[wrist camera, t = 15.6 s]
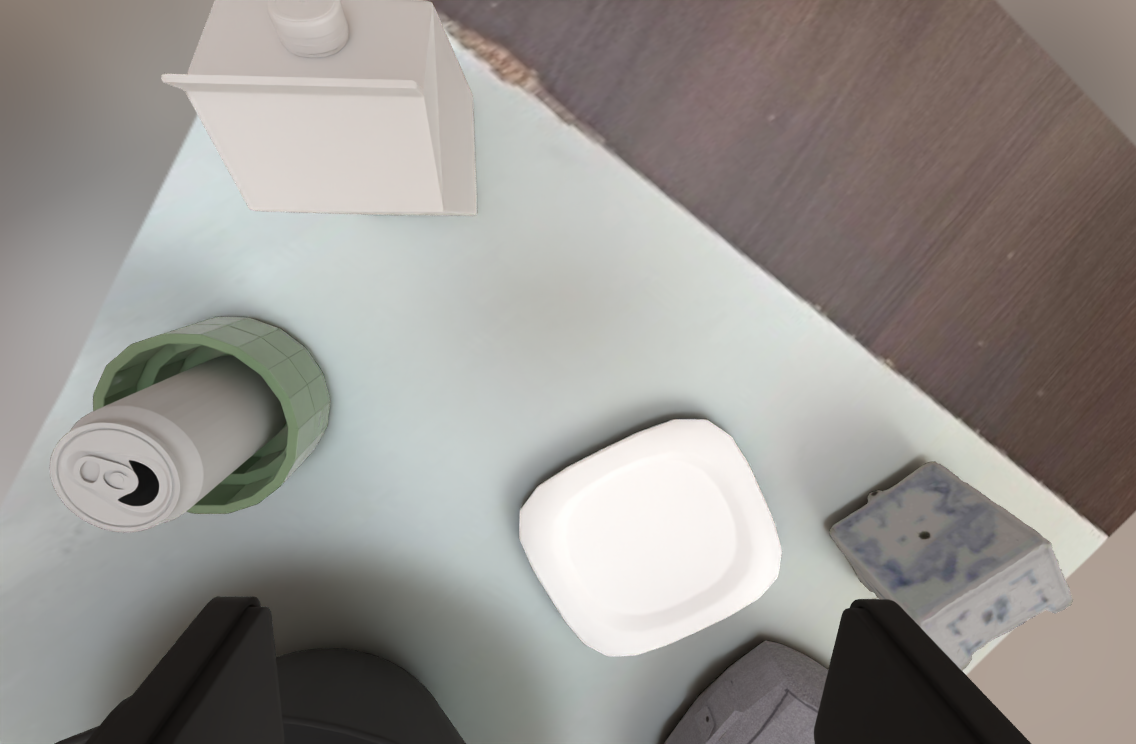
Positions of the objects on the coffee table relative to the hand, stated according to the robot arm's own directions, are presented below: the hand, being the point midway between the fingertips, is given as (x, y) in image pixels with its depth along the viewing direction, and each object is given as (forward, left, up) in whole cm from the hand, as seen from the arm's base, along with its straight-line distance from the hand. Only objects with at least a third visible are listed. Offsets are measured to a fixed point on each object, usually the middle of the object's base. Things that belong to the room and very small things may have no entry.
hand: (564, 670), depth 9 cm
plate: (+16, +9, -30) cm, 35 cm away
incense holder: (+15, +29, -30) cm, 45 cm away
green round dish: (+5, -20, -30) cm, 36 cm away
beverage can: (+5, -20, -29) cm, 36 cm away
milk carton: (-11, -8, -30) cm, 33 cm away
